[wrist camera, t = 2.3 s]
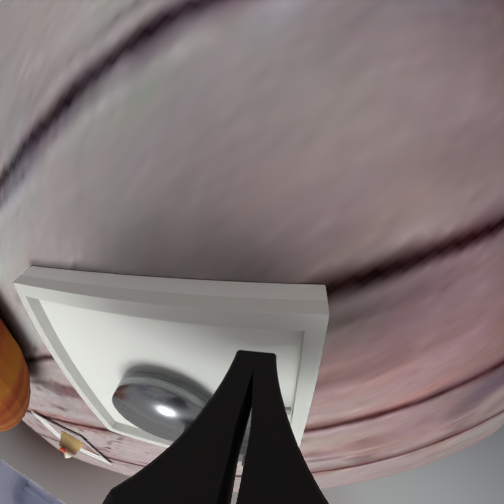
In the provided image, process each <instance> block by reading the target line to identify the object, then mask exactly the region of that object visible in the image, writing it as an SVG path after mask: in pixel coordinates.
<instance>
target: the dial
mask: <svg viewBox="0 0 504 504" xmlns="http://www.w3.org/2000/svg"><path fill="white" fill-rule="evenodd" d="M208 401H209V399H207V398H206V397H205V396H204V395H203V394H201V393H200V392H198V391H197V390H195V389H194V388H192V387H190V386H188V385H186V384H184V383H182V382H180V381H178V380H175V379H173V378H170V377H167V376H164V375H161V374H157V373H152V372H146V371H133V372H129V373H126V374H125V375H124V376H123V377H122V379H121V381H120V382H119V384H118V386H117V388H116V390H115V392H114V394H113V396H112V403H113V405H114V407H115V408H116V410H117V411H118V412H119V413H120V414H121V415H122V416H123V417H124V418H125V419H126V420H128V421H129V422H130V423H132V424H133V425H135V426H136V427H138V428H140V429H142V430H144V431H146V432H148V433H150V434H152V435H154V436H157V437H160V438H163V439H166V440H169V441H173V442H174V441H175V440H176V439H177V438H178V437H179V436H180V435H181V434H182V433H183V432H184V431H185V430H186V429H187V428H188V427H189V426H190V424H191V423H192V422H193V421H194V420H195V418H196V417H197V416H198V415H199V413H200V412H201V411H202V409H203V408H204V407H205V406H206V404H207V403H208ZM251 411H252V410H251ZM250 426H251V412H250V416H249V420H248V424H247V428H246V432H245V435H244V439H243V443H242V447H241V450H240V454H239V458H238V461H242V466H243V467H244V462H245V456H246V451H247V445H248V439H249V434H250Z"/></svg>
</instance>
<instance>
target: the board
mask: <svg viewBox="0 0 504 504" xmlns="http://www.w3.org/2000/svg"><path fill="white" fill-rule="evenodd" d="M13 284H14V286H15V288H16V290H17V292H18V295H19V297H20V299H21V301H22V303H23V305H24V307H25V309H26V311H27V313H28V315H29V317H30V319H31V320H32V322H33V324H34V326H35V328H36V330H37V331H38V333H39V335H40V337H41V338H42V340H43V342H44V343H45V345H46V347H47V348H48V350H49V351H50V353H51V355H52V356H53V358H54V359H55V361H56V362H57V364H58V365H59V367H60V368H61V370H62V371H63V373H64V374H65V376H66V377H67V378H68V380H69V381H70V383H71V384H72V385H73V387H74V388H75V389H76V391H77V392H78V393H79V395H80V396H81V397H82V399H83V400H84V401H85V402H86V404H87V405H88V406H89V407H90V409H91V410H92V411H93V412H94V413H95V415H96V416H97V417H98V418H99V419H100V420H101V422H102V423H103V424H104V425H105V426H106V427H107V428H108V429H109V430H111V431H113V432H116V433H119V434H122V435H125V436H128V437H131V438H134V439H138V440H141V441H144V442H148V443H152V444H155V445H159V446H163V447H167V448H168V447H169V446H170V445H171V444H172V443H173V441H169V440H166V439H163V438H160V437H157V436H154V435H152V434H150V433H148V432H146V431H144V430H142V429H140V428H138V427H136V426H135V425H133V424H132V423H130V422H129V421H128V420H126V419H125V418H124V417H123V416H122V415H121V414H120V413H119V412H118V411H117V410H116V408H115V407H114V405H113V403H112V396H113V394H114V392H115V390H116V388H117V386H118V384H119V382H120V381H121V379H122V377H123V376H124V375H125V374H126V373H129V372H133V371H146V372H152V373H157V374H161V375H164V376H167V377H170V378H173V379H175V380H178V381H180V382H182V383H184V384H186V385H188V386H190V387H192V388H194V389H195V390H197V391H198V392H200V393H201V394H203V395H204V396H205V397H206V398H207V399H209V400H210V399H211V397H212V396H213V394H214V393H215V391H216V390H217V388H218V387H219V385H220V383H221V382H222V380H223V379H224V377H225V375H226V373H227V371H228V370H229V368H230V366H231V364H232V362H233V359H234V357H235V355H236V352H237V351H239V350H246V351H256V352H266V353H274V354H275V355H276V362H277V373H278V380H279V385H280V390H281V394H282V398H283V402H284V406H285V410H286V413H287V416H288V419H289V422H290V425H291V428H292V431H293V434H294V437H295V439H296V442H297V444H298V447H299V446H300V443H301V439H302V436H303V432H304V429H305V425H306V421H307V417H308V413H309V410H310V406H311V402H312V397H313V393H314V389H315V385H316V380H317V376H318V371H319V367H320V362H321V357H322V352H323V347H324V342H325V337H326V332H327V326H328V321H329V307H328V300H327V293H326V286H325V285H313V284H280V283H253V282H231V281H211V280H193V279H177V278H162V277H147V276H134V275H121V274H109V273H97V272H86V271H75V270H65V269H55V268H45V267H36V266H31V267H30V268H29V269H27V270H26V271H25V272H24V273H23V274H22V275H21V276H20V277H18V278H17V279H16V280H15V281H14V282H13ZM251 410H252V408H251Z"/></svg>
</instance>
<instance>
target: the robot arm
mask: <svg viewBox="0 0 504 504" xmlns="http://www.w3.org/2000/svg"><path fill="white" fill-rule="evenodd" d="M251 408H252V411H251ZM250 412H251V426H250V434H249V439H248V445H247V451H246V456H245V462H244V467H243V472H242V478H241V483H240V488H239V493H238V498H237V503H236V504H329V503H328V502H327V500H326V499H325V497H324V495H323V494H322V492H321V490H320V489H319V487H318V485H317V483H316V481H315V480H314V478H313V476H312V474H311V472H310V470H309V468H308V466H307V464H306V462H305V460H304V458H303V456H302V454H301V451H300V449H299V447H298V444H297V442H296V439H295V437H294V434H293V431H292V428H291V425H290V422H289V419H288V416H287V413H286V410H285V406H284V402H283V398H282V394H281V390H280V385H279V380H278V373H277V362H276V355H275V354H274V353H266V352H256V351H246V350H239V351H237V352H236V355H235V357H234V359H233V362H232V364H231V366H230V368H229V370H228V371H227V373H226V375H225V377H224V379H223V380H222V382H221V383H220V385H219V387H218V388H217V390H216V391H215V393H214V394H213V396H212V397H211V399H210V400H209V401H208V403H207V404H206V406H205V407H204V408H203V409H202V411H201V412H200V413H199V415H198V416H197V417H196V418H195V420H194V421H193V422H192V423H191V424H190V426H189V427H188V428H187V429H186V430H185V431H184V432H183V433H182V434H181V435H180V436H179V437H178V438H177V439H176V440H175V441H174V442H173V443H172V444H171V445H170V446H169V447H168V448H167V449H166V450H165V451H164V452H163V453H162V454H160V455H159V456H158V457H157V458H156V459H154V460H153V461H152V462H151V463H149V464H148V465H147V466H146V467H144V468H143V469H142V470H140V471H139V472H138V473H136V474H135V475H133V476H132V477H130V478H129V479H127V480H125V481H124V482H122V483H121V484H119V485H117V486H116V487H114V488H113V489H111V491H110V492H109V493H108V495H107V497H106V498H105V500H104V502H103V504H230V503H231V498H232V492H233V486H234V480H235V474H236V468H237V463H238V458H239V454H240V450H241V447H242V443H243V439H244V435H245V432H246V428H247V424H248V420H249V416H250ZM0 504H65V503H64V502H62V501H60V500H59V499H57V498H55V497H54V496H53V495H51V494H49V493H48V492H47V491H46V489H44V488H43V487H41V486H40V485H38V484H37V483H35V482H34V481H33V480H31V479H30V478H28V477H27V476H25V475H24V474H22V473H20V472H18V471H17V470H15V469H14V468H12V467H11V466H10V465H9V464H7V463H6V462H5V461H3V460H2V459H0Z"/></svg>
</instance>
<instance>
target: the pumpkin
mask: <svg viewBox="0 0 504 504" xmlns="http://www.w3.org/2000/svg"><path fill="white" fill-rule="evenodd" d="M30 392H31V391H30V378H29V370H28V366H27V364H26V361H25V359H24V356H23V354H22V351H21V348H20V347H19V345H18V344H17V342H16V341H15V339H14V338H13V336H12V335H11V333H10V331H9V330H8V329H7V327H6V326H5V324H4V323H3V321H2V320H1V318H0V431H5V430H8V429H10V428H12V427H14V426H15V425H17V424H18V423H19V422H20V420H21V419H22V418H23V417H24V416H25V413H26V411H27V408H28V406H29V400H30Z"/></svg>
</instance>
